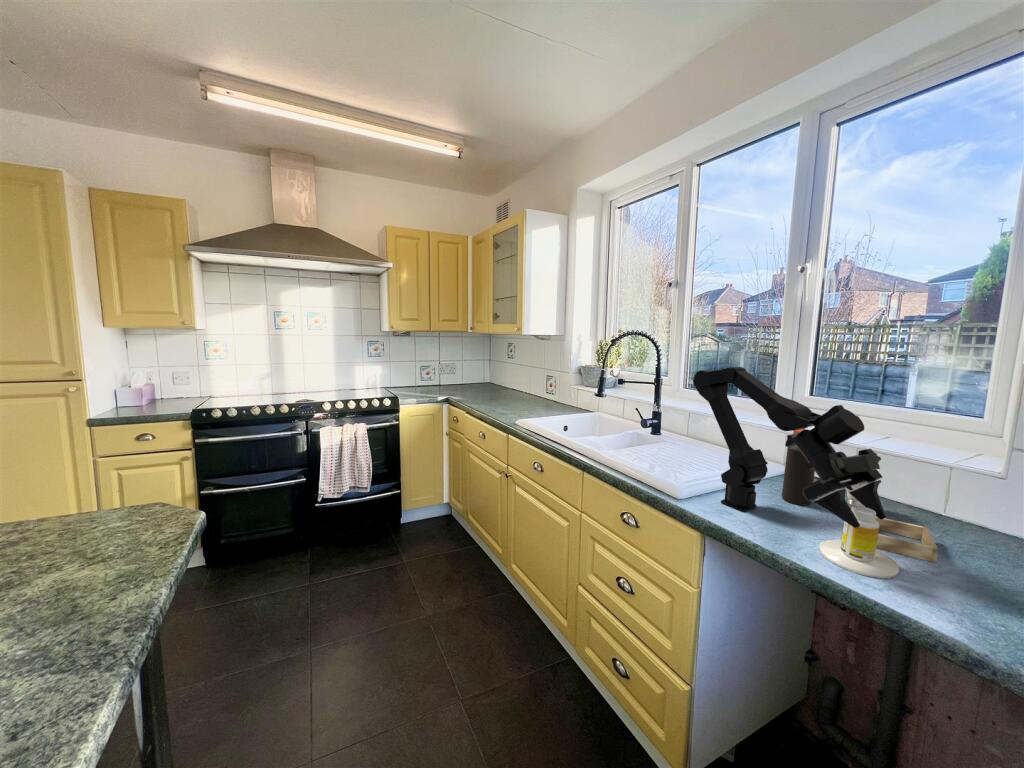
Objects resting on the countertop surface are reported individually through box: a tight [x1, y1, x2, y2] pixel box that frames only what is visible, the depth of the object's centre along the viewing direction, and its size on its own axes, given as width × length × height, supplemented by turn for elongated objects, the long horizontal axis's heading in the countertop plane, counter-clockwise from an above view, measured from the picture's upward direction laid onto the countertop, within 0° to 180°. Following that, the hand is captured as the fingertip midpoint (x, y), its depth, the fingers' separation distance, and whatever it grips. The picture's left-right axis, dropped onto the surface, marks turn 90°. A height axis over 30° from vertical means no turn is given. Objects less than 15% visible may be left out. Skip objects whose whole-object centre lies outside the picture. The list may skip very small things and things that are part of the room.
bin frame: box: [875, 516, 939, 564], centre depth 96 cm, size 12×12×3 cm
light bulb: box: [844, 487, 863, 508], centre depth 113 cm, size 7×7×11 cm
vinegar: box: [781, 428, 816, 506], centre depth 116 cm, size 7×7×20 cm
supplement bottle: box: [841, 505, 880, 562], centre depth 88 cm, size 6×6×10 cm
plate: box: [818, 539, 900, 579], centre depth 89 cm, size 13×13×1 cm
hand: (870, 522), depth 86 cm, fingers open, 9 cm apart
